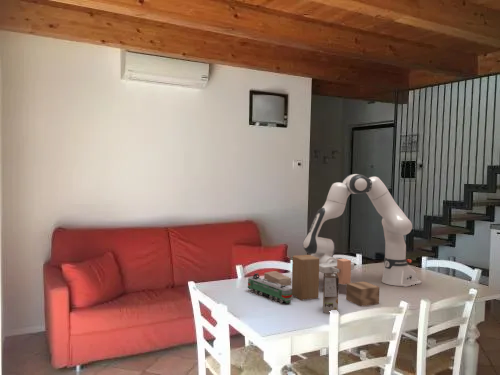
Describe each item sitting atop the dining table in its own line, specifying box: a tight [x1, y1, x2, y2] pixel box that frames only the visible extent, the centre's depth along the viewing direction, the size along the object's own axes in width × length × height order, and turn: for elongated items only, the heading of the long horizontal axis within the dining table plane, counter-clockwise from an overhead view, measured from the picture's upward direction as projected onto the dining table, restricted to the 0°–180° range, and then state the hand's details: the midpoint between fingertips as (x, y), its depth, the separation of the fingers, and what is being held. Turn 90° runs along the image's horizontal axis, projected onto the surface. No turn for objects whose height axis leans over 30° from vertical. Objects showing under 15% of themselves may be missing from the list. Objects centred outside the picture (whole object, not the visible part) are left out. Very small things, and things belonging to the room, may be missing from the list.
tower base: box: [345, 280, 380, 307], centre depth 208 cm, size 11×11×8 cm
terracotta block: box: [336, 258, 352, 285], centre depth 223 cm, size 5×5×12 cm
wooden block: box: [291, 254, 320, 301], centre depth 215 cm, size 10×10×20 cm
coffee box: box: [322, 272, 340, 314], centre depth 195 cm, size 9×6×16 cm
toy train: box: [247, 272, 293, 304], centre depth 214 cm, size 5×31×10 cm, turn 39°
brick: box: [263, 270, 292, 287], centre depth 241 cm, size 17×8×5 cm, turn 29°
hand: (344, 270), depth 222 cm, fingers closed on terracotta block, 5 cm apart
